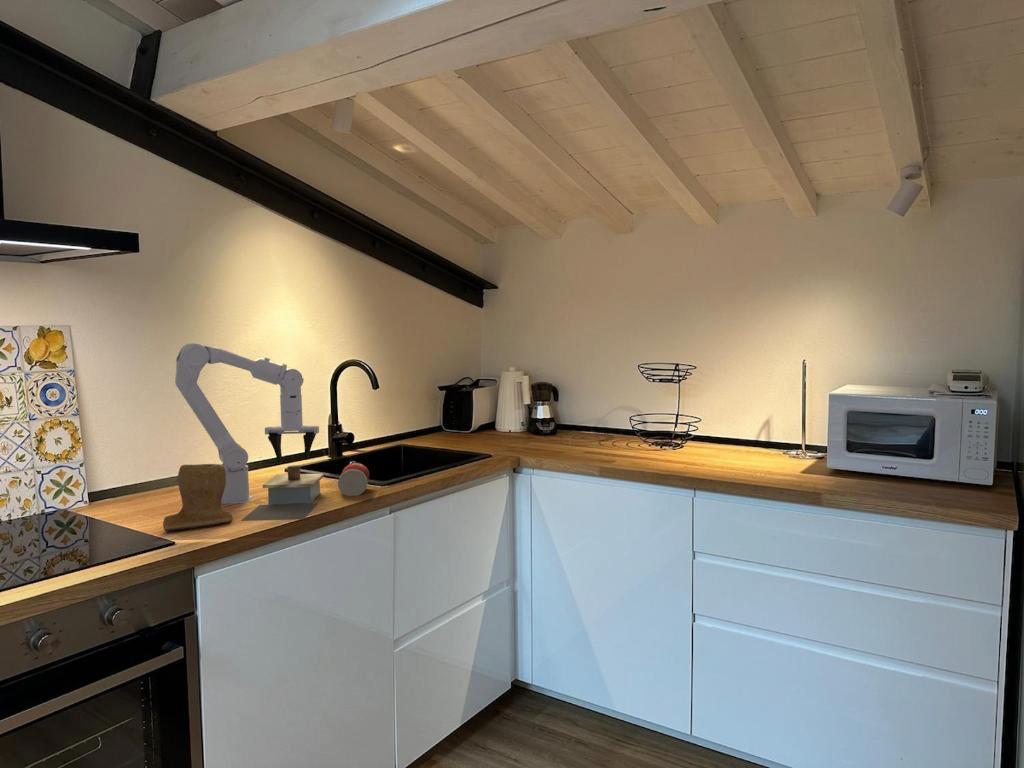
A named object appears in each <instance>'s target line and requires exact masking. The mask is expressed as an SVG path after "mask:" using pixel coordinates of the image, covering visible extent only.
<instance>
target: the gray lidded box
mask: <svg viewBox="0 0 1024 768" xmlns="http://www.w3.org/2000/svg"><path fill="white" fill-rule="evenodd" d="M267 493H268V494H267V497H268V505H274V504H312V503H313V501H314V500H316V498H317V497H318V496H319V495H320V494H321V480H320V481H319V482H318V483H317V484H316V485H315V486H314V487H287V488H267Z"/></svg>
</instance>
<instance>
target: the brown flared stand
mask: <svg viewBox="0 0 1024 768" xmlns="http://www.w3.org/2000/svg"><path fill="white" fill-rule="evenodd" d="M225 484H226V471H225V467H224V466H223V465H222V463H221V464H220V463H202V464H201V463H200V464H182V465H180V467H179V470H178V474H177V485H178V490H179V494H180V498H181V502H182V508H181V509H180V510H179V511H178V512H177V513H175V514H171V515H167V516H165V517H164V518H163V522H162V526H163V531H164V532H173V531H175V532H176V531H182V530H190V529H197V528H205V527H212V526H216V525H220V524H225V523H228V522H231V521H232V520H233V515H232V514H231V512H230V513H229V512H227V511H224V509H222V504H221V500H222V496H223V493H224V489H225Z"/></svg>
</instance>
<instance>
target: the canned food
mask: <svg viewBox="0 0 1024 768" xmlns="http://www.w3.org/2000/svg"><path fill="white" fill-rule="evenodd" d="M369 479H370V471H369V469H368V468H367V466H365V465H364V464H362V463H360V462H352V463H349V464H348V465H346V466H345V467H344V468H343V470H342V472H341V474H340V475H339V478H338V482H337V486H338V490H339V492H340V493H342V494H343V495H344V496H346V497H351V496H353V497H354V496H360V495H362V494H363V493H364V492H365V491H366V489H367V487H368V484H369Z"/></svg>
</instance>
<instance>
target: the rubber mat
mask: <svg viewBox="0 0 1024 768" xmlns="http://www.w3.org/2000/svg"><path fill="white" fill-rule="evenodd" d="M317 505H318V503H313V502H312V503H284V504H258V506H257V507H255V508H254V509H252V511H251V512H250V513H248V514H247V515H246V516H244V517H243V518H242V519H241V520H240V521H241V522H243V521H244V522H247V521H251V522H252V521H285V520H287V521H288V520H304V519H306V518H307V517H308V516H309V514H310V513H311V512H312V511H313V510H314V509H315V508H316V506H317Z"/></svg>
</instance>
